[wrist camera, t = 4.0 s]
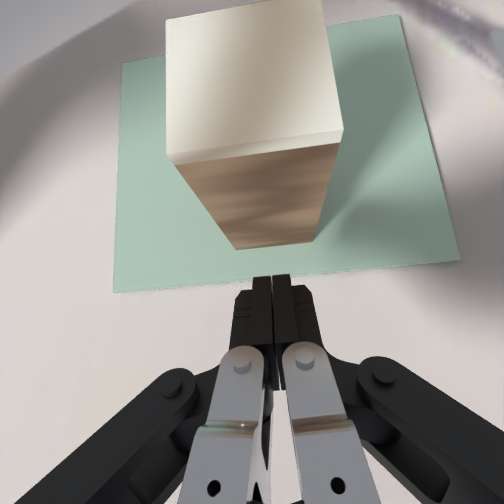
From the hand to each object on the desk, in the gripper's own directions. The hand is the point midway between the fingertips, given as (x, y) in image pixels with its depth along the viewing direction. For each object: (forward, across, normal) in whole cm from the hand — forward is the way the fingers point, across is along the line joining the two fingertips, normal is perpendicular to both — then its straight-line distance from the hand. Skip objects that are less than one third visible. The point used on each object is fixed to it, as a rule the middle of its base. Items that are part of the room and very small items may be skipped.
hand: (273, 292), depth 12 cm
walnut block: (+9, 0, 0) cm, 9 cm away
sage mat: (+13, 0, -3) cm, 13 cm away
